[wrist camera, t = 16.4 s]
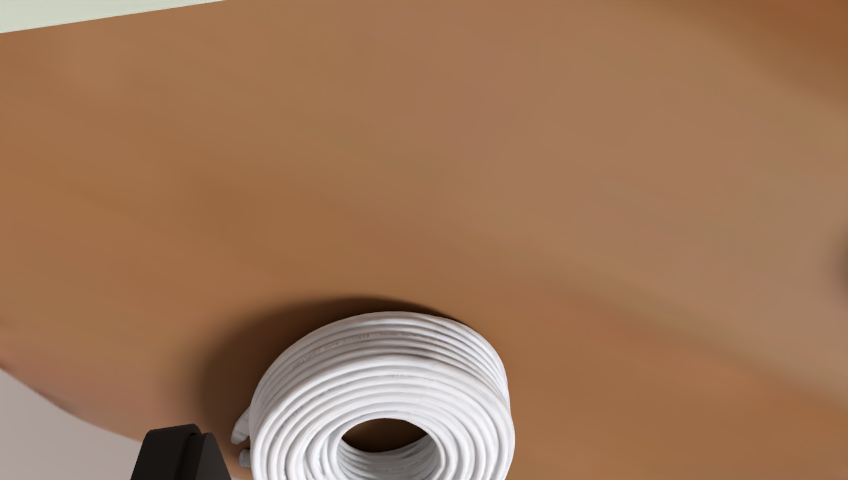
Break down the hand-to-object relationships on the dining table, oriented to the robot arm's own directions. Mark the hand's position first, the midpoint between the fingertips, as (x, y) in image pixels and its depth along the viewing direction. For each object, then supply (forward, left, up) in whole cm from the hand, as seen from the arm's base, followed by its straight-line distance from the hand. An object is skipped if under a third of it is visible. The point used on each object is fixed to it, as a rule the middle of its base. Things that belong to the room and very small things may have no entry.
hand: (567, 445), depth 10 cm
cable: (+6, +27, -31) cm, 42 cm away
